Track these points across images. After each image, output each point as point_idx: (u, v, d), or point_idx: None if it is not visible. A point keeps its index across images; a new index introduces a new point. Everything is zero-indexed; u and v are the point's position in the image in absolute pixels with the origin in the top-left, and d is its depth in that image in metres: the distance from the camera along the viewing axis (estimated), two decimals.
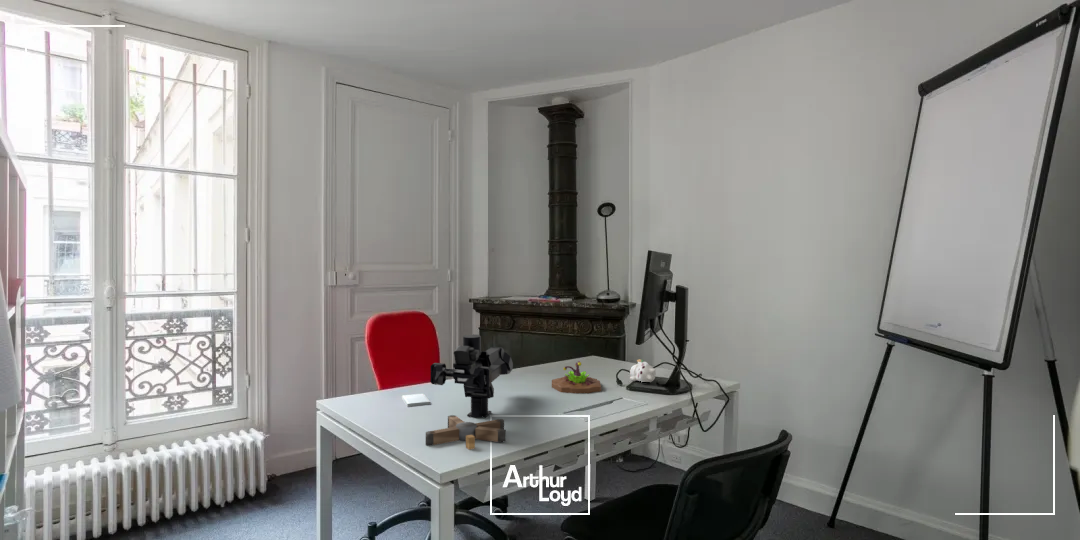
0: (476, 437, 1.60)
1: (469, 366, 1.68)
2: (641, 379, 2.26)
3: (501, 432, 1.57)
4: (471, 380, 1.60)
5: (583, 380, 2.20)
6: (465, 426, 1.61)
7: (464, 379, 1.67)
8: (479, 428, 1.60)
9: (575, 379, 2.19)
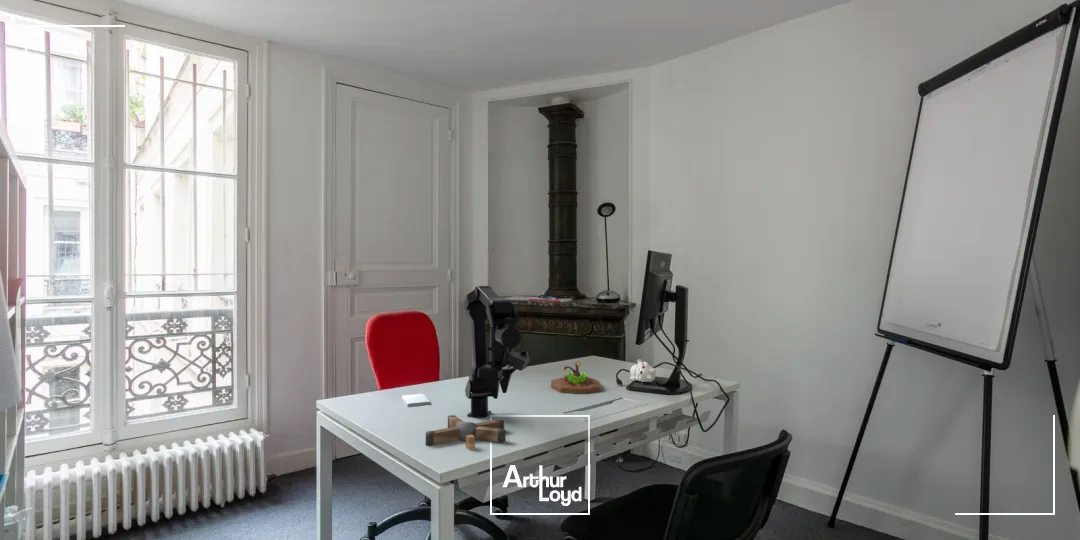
0: (476, 437, 1.60)
1: None
2: (641, 379, 2.26)
3: (501, 432, 1.57)
4: None
5: (582, 380, 2.19)
6: (465, 426, 1.61)
7: None
8: (479, 428, 1.60)
9: (574, 379, 2.18)
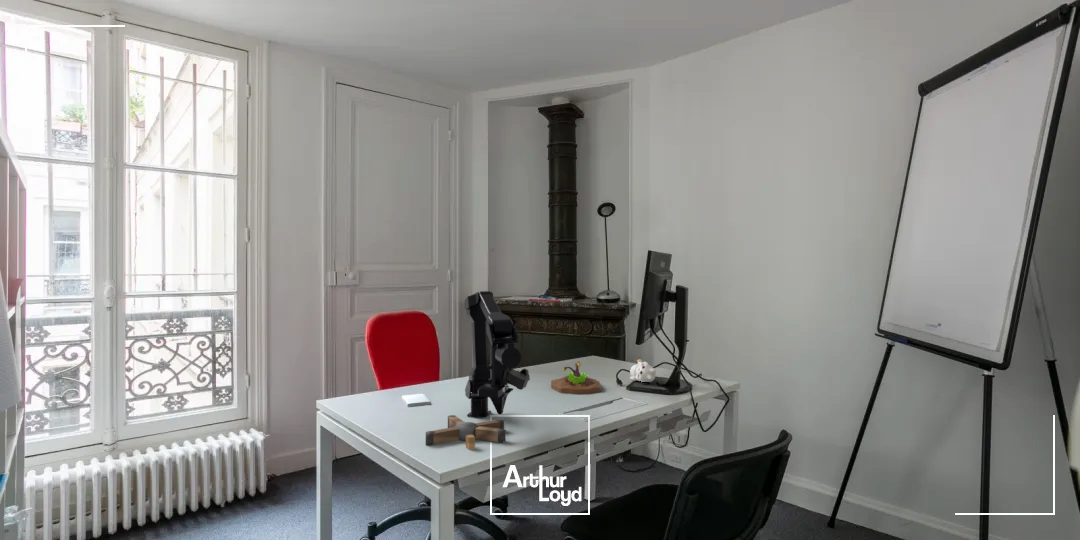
0: (476, 437, 1.60)
1: None
2: (641, 379, 2.26)
3: (501, 432, 1.57)
4: None
5: (583, 381, 2.19)
6: (465, 426, 1.61)
7: None
8: (479, 428, 1.60)
9: (575, 380, 2.18)
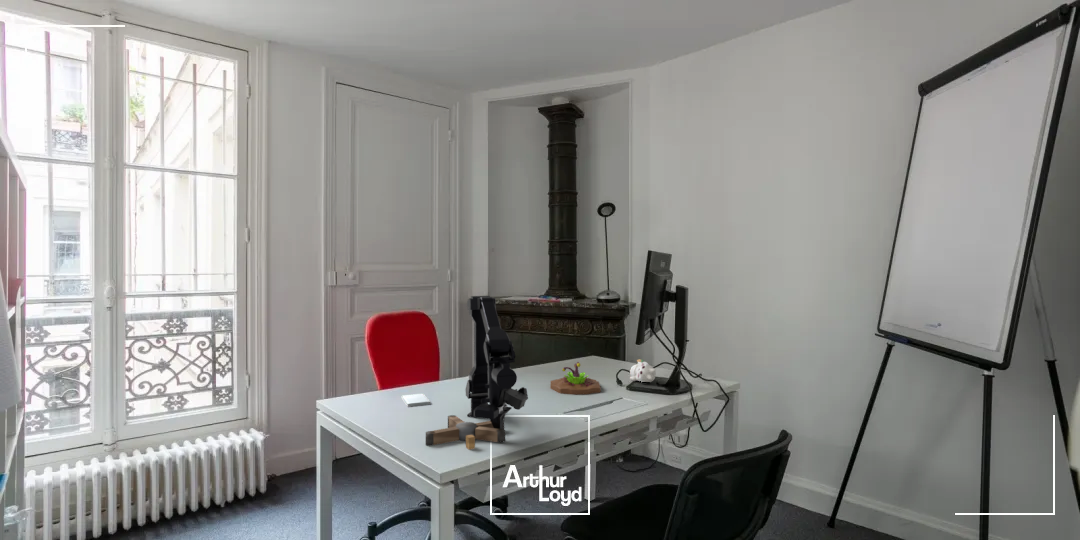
0: (476, 437, 1.60)
1: None
2: (641, 379, 2.26)
3: (501, 432, 1.57)
4: None
5: (582, 381, 2.18)
6: (465, 426, 1.61)
7: None
8: (479, 428, 1.60)
9: (574, 380, 2.17)
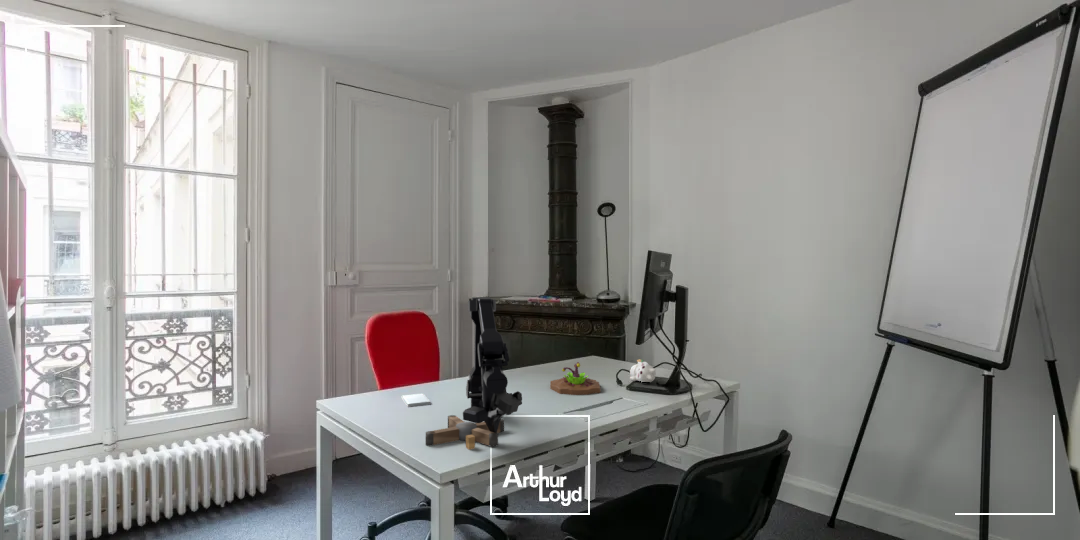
0: None
1: None
2: (641, 379, 2.26)
3: (492, 436, 1.54)
4: None
5: (582, 381, 2.18)
6: (465, 426, 1.61)
7: None
8: (475, 429, 1.59)
9: (574, 380, 2.17)
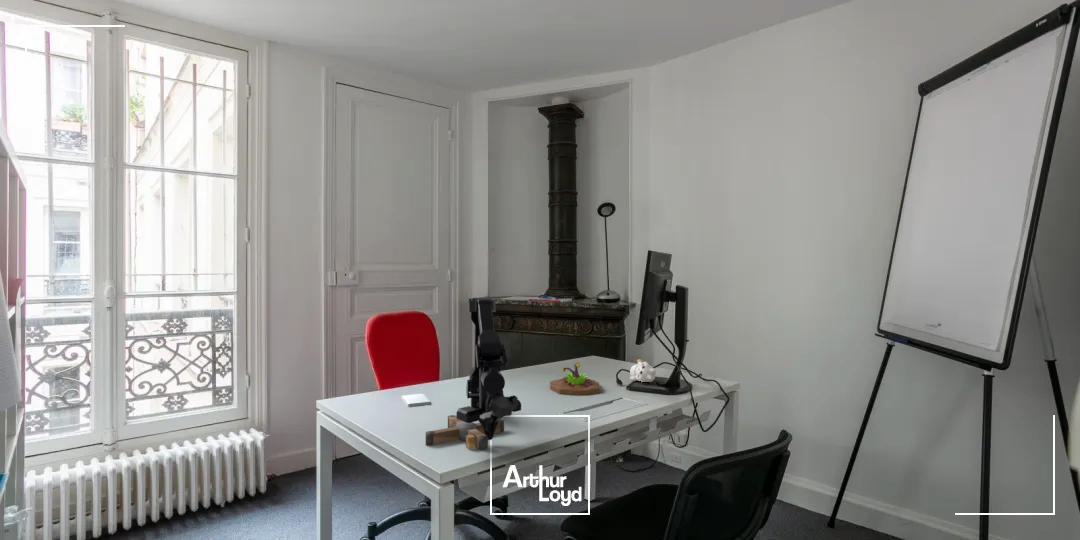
0: None
1: None
2: (641, 379, 2.26)
3: (480, 439, 1.52)
4: None
5: (582, 382, 2.17)
6: (465, 426, 1.61)
7: None
8: (471, 430, 1.58)
9: (574, 381, 2.16)
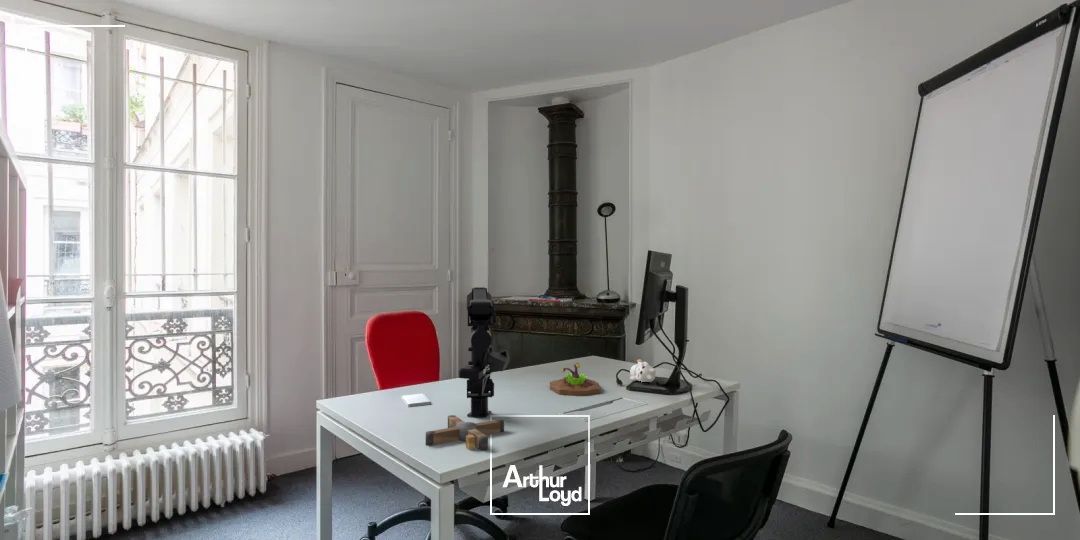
0: None
1: None
2: (641, 379, 2.26)
3: (480, 439, 1.52)
4: None
5: (582, 382, 2.17)
6: (465, 426, 1.61)
7: None
8: (471, 430, 1.58)
9: (573, 381, 2.15)
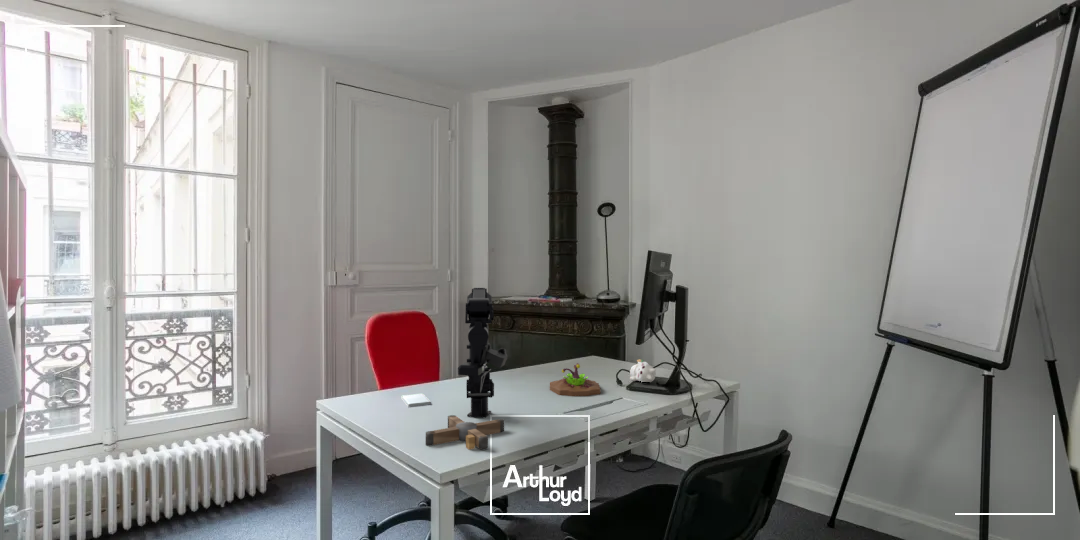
0: None
1: None
2: (641, 379, 2.26)
3: (480, 439, 1.52)
4: None
5: (582, 383, 2.16)
6: (465, 426, 1.61)
7: None
8: (471, 430, 1.58)
9: (574, 382, 2.15)
